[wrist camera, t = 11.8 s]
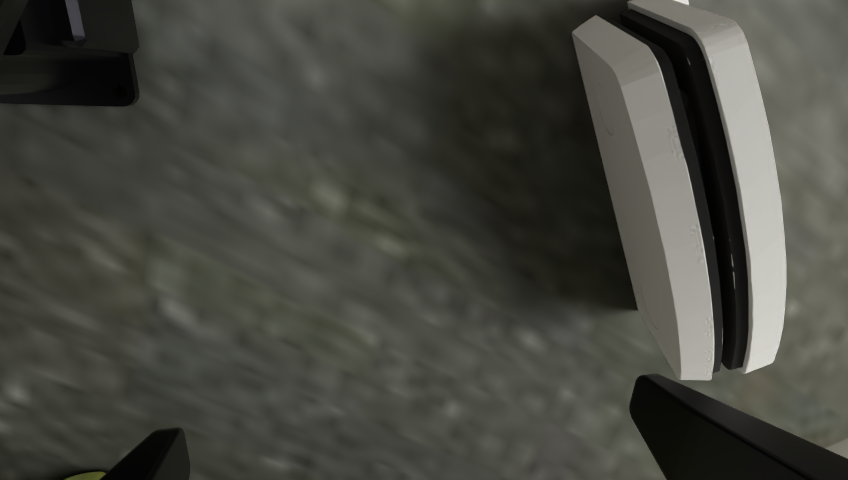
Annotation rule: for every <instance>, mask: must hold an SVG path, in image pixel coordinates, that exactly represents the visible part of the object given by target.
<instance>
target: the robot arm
mask: <svg viewBox="0 0 848 480" xmlns="http://www.w3.org/2000/svg"><path fill="white" fill-rule="evenodd" d="M138 48H139V43H138V37H137V31H136V25H135V19H134V13H133V8H132V2H131V0H0V103H10V104H47V105H85V106H122V107H123V106H129V105H133V104H135V103H136V102H137V101H138V99H139V88H138V82H137V77H136V71H135V65H134V60H133V53H135V51H136V50H137V49H138ZM120 85H121V86H123V87H124V88H126V90H127V92H128V96H127V97H126V99H123V98H121V97H120V96H119V95H118V93H117V88H118V87H119V86H120ZM629 410H630V414H631V417H632V419H633V421H634V423H635V425H636V426H637V428H638V430H639V432H640V433H641V435H642V437H643V439H644V441H645V442H646V444H647V446H648V448H649V449H650V451H651V453H652V455H653V457H654V458H655V460H656V462H657V464H658V465H659V467H660V469H661V471H662V473H663V474H664V476H665V478H666V479H667V480H848V459H847V458H845V457H842V456H840V455H838V454H836V453H833V452H831V451H829V450H827V449H825V448H822V447H820V446H818V445H816V444H813V443H811V442H809V441H807V440H805V439H802V438H800V437H798V436H796V435H793V434H791V433H789V432H787V431H784V430H782V429H780V428H778V427H775V426H773V425H771V424H769V423H767V422H764V421H762V420H760V419H758V418H755V417H753V416H751V415H749V414H746V413H744V412H742V411H740V410H738V409H735V408H733V407H731V406H729V405H726V404H724V403H722V402H720V401H717V400H715V399H713V398H711V397H708V396H706V395H704V394H702V393H700V392H697V391H695V390H693V389H691V388H688V387H686V386H684V385H682V384H679V383H677V382H675V381H673V380H670V379H668V378H666V377H664V376H662V375H659V374H648V375H641V376H639V377H638V378H637V379H636V382H635V385H634V389H633V393H632V397H631V401H630V406H629ZM189 476H190V460H189V455H188V450H187V444H186V439H185V434H184V431H183V430H182V429H181V428H179V427H175V428H166V429H159V430H156V431H154V432H152V433H151V434H150V435H149V436H148V437H146V438H145V439H144V440H143V441H142V442H141V443H140V444H139V445H137V446H136V447H135V448H134V449H133V450H132V451H131V452H130V453H128V454H127V455H126V456H125V457H124V458H123V459H122V460H121V461H119V462H118V463H117V464H116V465H115V466H114V467H113V468H112V469H110V470H109V471H108V472H107V473H106V474H105V475H104V476H103V477H101V478H100V479H99V480H189Z"/></svg>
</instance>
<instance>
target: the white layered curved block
mask: <svg viewBox="0 0 848 480" xmlns="http://www.w3.org/2000/svg"><path fill="white" fill-rule="evenodd" d="M627 4H628V9H629V10H627V11H625V12H622V13H620V16H621V21H622V25H620V24H618V23H617V22H615V21H613V20H611V19H610V18H608V19H605V20H604V19H602V18H600V17H599V16H597V15H595V16H594V17H592V18H591V19H589V20H588V21H586V22H585V23H583V24H582V25H580V26H579V27H578V28H576V29H575V30H574V31H573V32H572V37H573V41H574V45H575V50H576V54H577V58H578V62H579V66H580V70H581V75H582V79H583V83H584V87H585V91H586V95H587V100H588V104H589V108H590V112H591V116H592V120H593V124H594V129H595V133H596V137H597V141H598V145H599V149H600V154H601V158H602V162H603V166H604V170H605V174H606V179H607V183H608V187H609V191H610V195H611V199H612V203H613V208H614V212H615V216H616V220H617V224H618V228H619V233H620V237H621V241H622V245H623V249H624V253H625V258H626V262H627V266H628V270H629V274H630V278H631V282H632V287H633V291H634V295H635V299H636V303H637V307H638V311H639V313H640V314H641V316H642V318H643V319H644V321H645V323H646V325H647V326H648V328H649V330H650V331H651V333H652V335H653V337H654V338H655V340H656V342H657V343H658V345H659V347H660V349H661V350H662V352H663V354H664V356H665V357H666V359H667V361H668V362H669V364H670V366H671V368H672V369H673V371H674V373H675V374H676V376H677V378H678V379H679V380H711V379H712V373H715V372H719V371H720V365H721V362H722V364H723V365H724V366H725V367H726V368H727V369H729V370H732V369H736V370H738V371H739V372H740V373H743V374H745V373H748V372H750V371H753V370H756V369H758V368H761V367H763V366H766V365H769V364H771V363H773V361H774V359H775V356H776V353H777V350H778V347H779V343H780V339H781V334H782V329H783V322H784V312H785V298H786V252H785V238H784V226H783V215H782V205H781V197H780V190H779V184H778V178H777V171H776V165H775V159H774V154H773V148H772V143H771V137H770V131H769V126H768V122H767V117H766V113H765V109H764V105H763V101H762V96H761V92H760V88H759V84H758V80H757V76H756V73H755V69H754V65H753V62H752V58H751V54H750V50H749V47H748V43H747V40H746V38H745V35H744V32H743V31H742V30H741V28H740V27H739V26H738V25H737V23H736V22H735V21H734V20H732V19H729V18H726V17H723V16H720V15H717V14H714V13H711V12H708V11H705V10H702V9H698V8H695V7H692V6H689V3H688V0H632V1H628V2H627Z"/></svg>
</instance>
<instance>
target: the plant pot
mask: <svg viewBox="0 0 848 480" xmlns="http://www.w3.org/2000/svg"><path fill="white" fill-rule="evenodd" d="M105 474H106V473H104V472H89V473H83V474H79V475H75V476H72V477H69V478H66V479H64V480H99V479H100V478H101V477H103V476H104V475H105Z"/></svg>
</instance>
